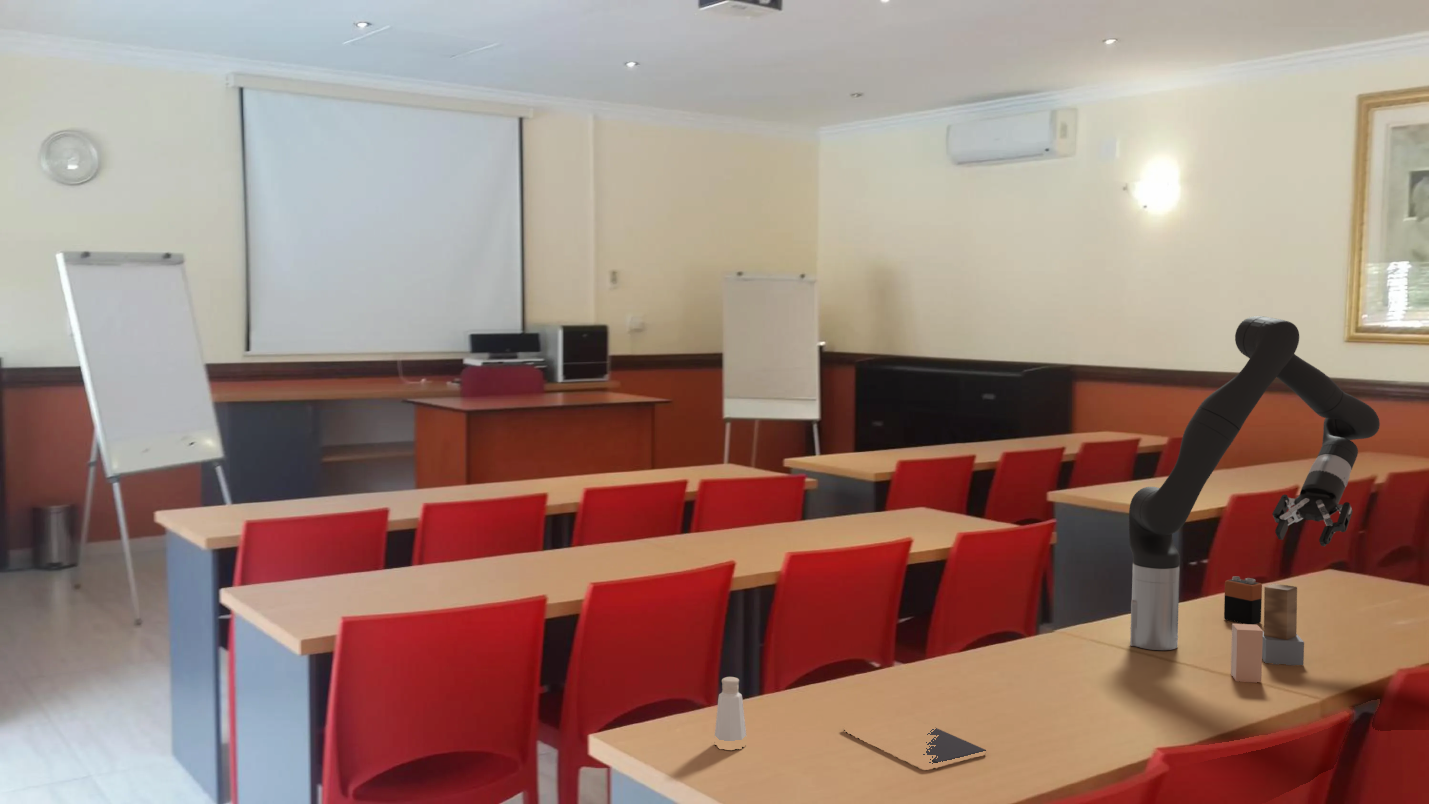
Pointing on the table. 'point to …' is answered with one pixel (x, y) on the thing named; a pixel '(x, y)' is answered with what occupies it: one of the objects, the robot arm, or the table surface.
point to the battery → (1243, 600)
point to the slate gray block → (1283, 650)
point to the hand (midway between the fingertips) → (1300, 540)
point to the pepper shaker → (730, 712)
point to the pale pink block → (1246, 652)
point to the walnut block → (1280, 611)
